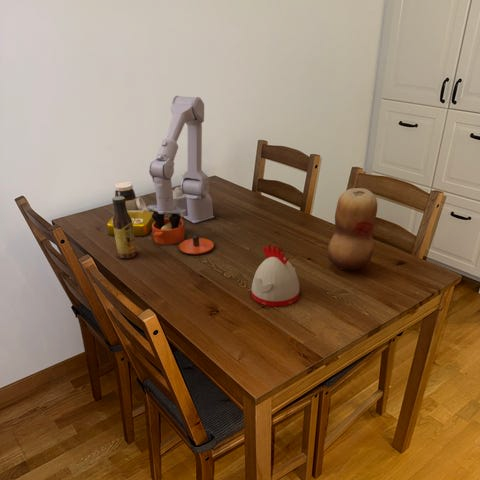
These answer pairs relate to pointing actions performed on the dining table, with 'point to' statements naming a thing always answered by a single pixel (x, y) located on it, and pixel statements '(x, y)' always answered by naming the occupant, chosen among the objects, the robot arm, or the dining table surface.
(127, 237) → the sauce bottle
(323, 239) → the dining table surface
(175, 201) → the lumpy-topped squat cylinder
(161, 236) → the pot
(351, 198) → the butternut squash
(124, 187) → the spread jar
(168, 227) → the potato
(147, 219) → the yellow square tin
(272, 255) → the kitchen timer
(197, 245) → the pot lid
